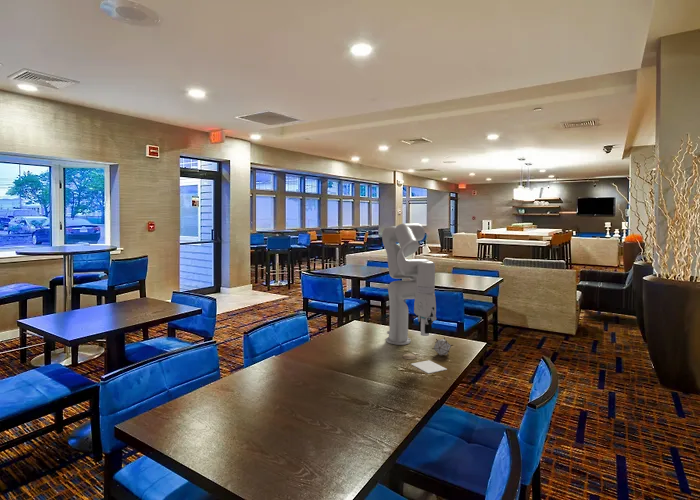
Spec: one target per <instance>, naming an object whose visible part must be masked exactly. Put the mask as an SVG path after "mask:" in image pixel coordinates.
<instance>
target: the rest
mask: <svg viewBox="0 0 700 500" xmlns="http://www.w3.org/2000/svg"><path fill="white" fill-rule="evenodd" d="M401 356H402V358H403V359H404V360H409V361H410V360H416V359H417V354H412V353H405V354H403V355H401Z"/></svg>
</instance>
